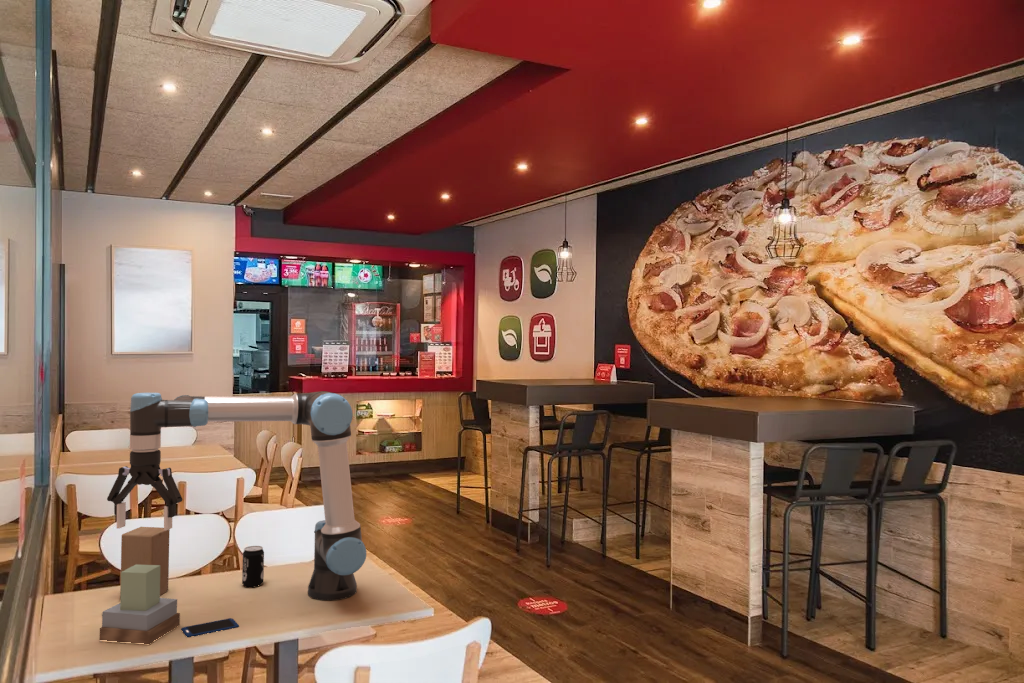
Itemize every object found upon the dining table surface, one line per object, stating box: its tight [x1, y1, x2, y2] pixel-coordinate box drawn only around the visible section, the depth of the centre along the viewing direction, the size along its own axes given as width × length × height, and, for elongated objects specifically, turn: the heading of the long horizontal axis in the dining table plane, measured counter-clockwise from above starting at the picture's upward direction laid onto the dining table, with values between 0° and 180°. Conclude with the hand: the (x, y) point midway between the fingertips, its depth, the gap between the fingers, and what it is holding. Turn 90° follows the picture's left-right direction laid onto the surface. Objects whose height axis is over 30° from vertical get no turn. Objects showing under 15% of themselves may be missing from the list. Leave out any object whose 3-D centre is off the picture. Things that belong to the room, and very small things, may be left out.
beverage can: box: [241, 545, 265, 588], centre depth 243 cm, size 7×7×12 cm
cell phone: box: [180, 617, 240, 638], centre depth 206 cm, size 7×14×1 cm, turn 126°
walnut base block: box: [99, 612, 181, 645], centre depth 201 cm, size 14×14×4 cm
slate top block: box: [101, 597, 178, 631], centre depth 202 cm, size 13×13×4 cm
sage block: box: [119, 565, 161, 611], centre depth 201 cm, size 7×7×10 cm
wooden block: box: [119, 526, 171, 596], centre depth 231 cm, size 10×10×20 cm
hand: (144, 528), depth 202 cm, fingers open, 13 cm apart
